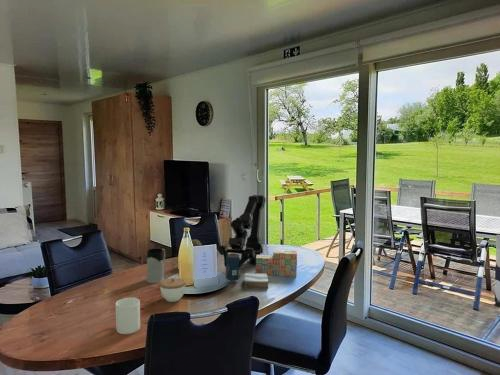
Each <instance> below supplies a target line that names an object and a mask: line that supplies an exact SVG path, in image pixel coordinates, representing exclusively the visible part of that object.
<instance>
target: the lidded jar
mask: <svg viewBox="0 0 500 375" xmlns="http://www.w3.org/2000/svg"><path fill="white" fill-rule="evenodd" d="M159 285H160V293H161V296H162V298H163V299H165V301H166V302H169V303H174V302H175V303H176V302H178V301H180V300H181V299H182V297H183V296H184V294H185V292H186V291H185V289H186V281H185V279H184V278H181V277H169V278H164V280H162V281H161V282H159Z"/></svg>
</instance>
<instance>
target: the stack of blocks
mask: <svg viewBox="0 0 500 375" xmlns="http://www.w3.org/2000/svg"><path fill="white" fill-rule="evenodd" d="M272 252H273V254H272V255H270V254H260V255H257V256H256V264H255V273H267V276H272V277H275V276H276V277H297V268H298V266H297V265H298V251H297V250H291V249H290V250H288V249H273V251H272Z"/></svg>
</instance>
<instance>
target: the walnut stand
mask: <svg viewBox="0 0 500 375" xmlns="http://www.w3.org/2000/svg"><path fill="white" fill-rule="evenodd" d="M244 289H269V278H268V275H267V273H256V272H255V273H254V272H253V273H249V272H248V273H247V272H245V273H244Z"/></svg>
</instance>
